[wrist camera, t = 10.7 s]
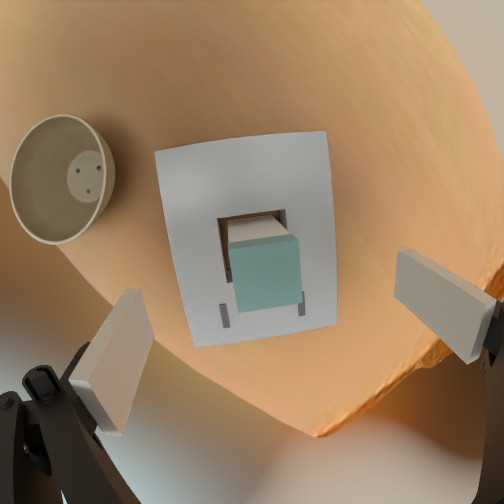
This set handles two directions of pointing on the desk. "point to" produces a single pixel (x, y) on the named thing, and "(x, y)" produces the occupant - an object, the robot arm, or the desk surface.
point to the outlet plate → (247, 202)
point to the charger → (263, 264)
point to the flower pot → (61, 178)
